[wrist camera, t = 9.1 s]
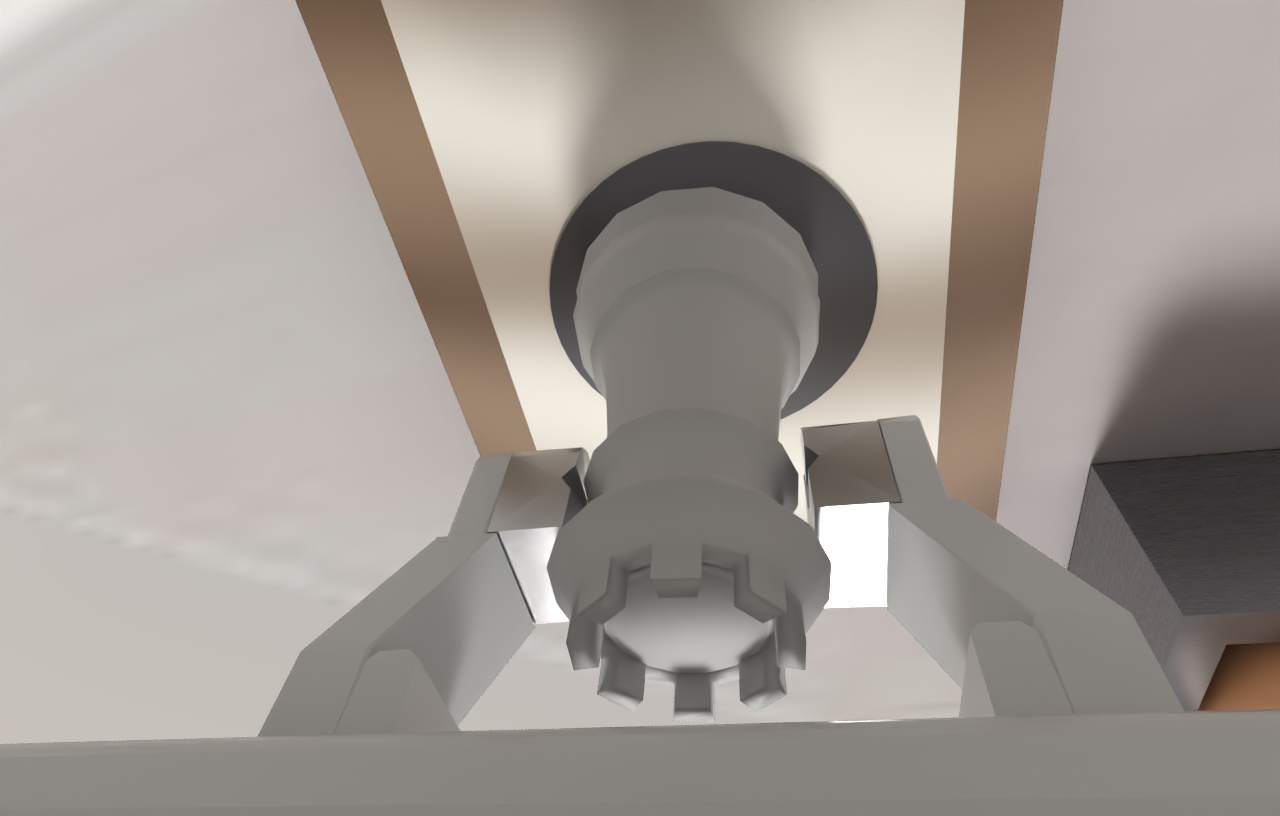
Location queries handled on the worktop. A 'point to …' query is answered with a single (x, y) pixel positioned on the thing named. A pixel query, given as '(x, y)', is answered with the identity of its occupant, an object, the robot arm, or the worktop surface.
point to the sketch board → (712, 157)
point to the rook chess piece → (693, 455)
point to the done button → (1245, 679)
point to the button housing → (1187, 555)
